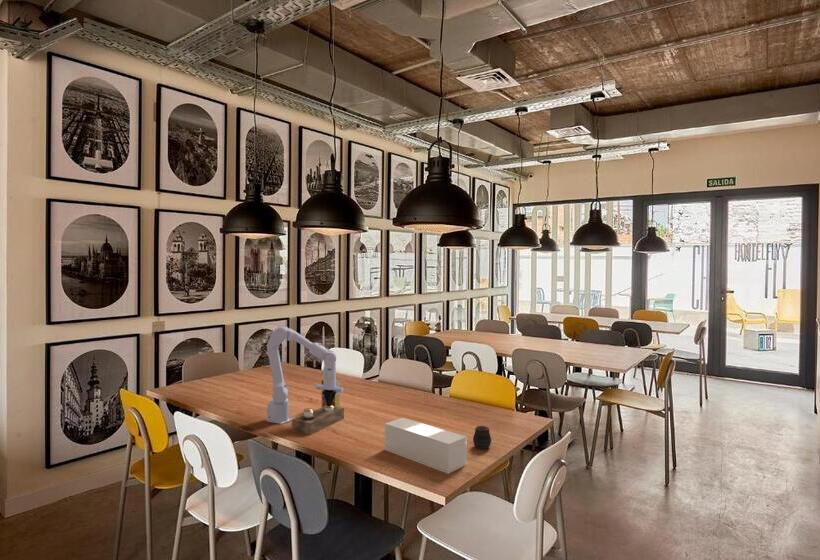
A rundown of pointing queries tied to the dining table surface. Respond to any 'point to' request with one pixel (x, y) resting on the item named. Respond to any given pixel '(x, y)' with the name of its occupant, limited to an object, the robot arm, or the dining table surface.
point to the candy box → (336, 399)
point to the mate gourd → (482, 437)
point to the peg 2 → (329, 408)
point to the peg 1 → (308, 414)
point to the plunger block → (317, 420)
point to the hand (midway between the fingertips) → (329, 405)
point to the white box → (426, 444)
